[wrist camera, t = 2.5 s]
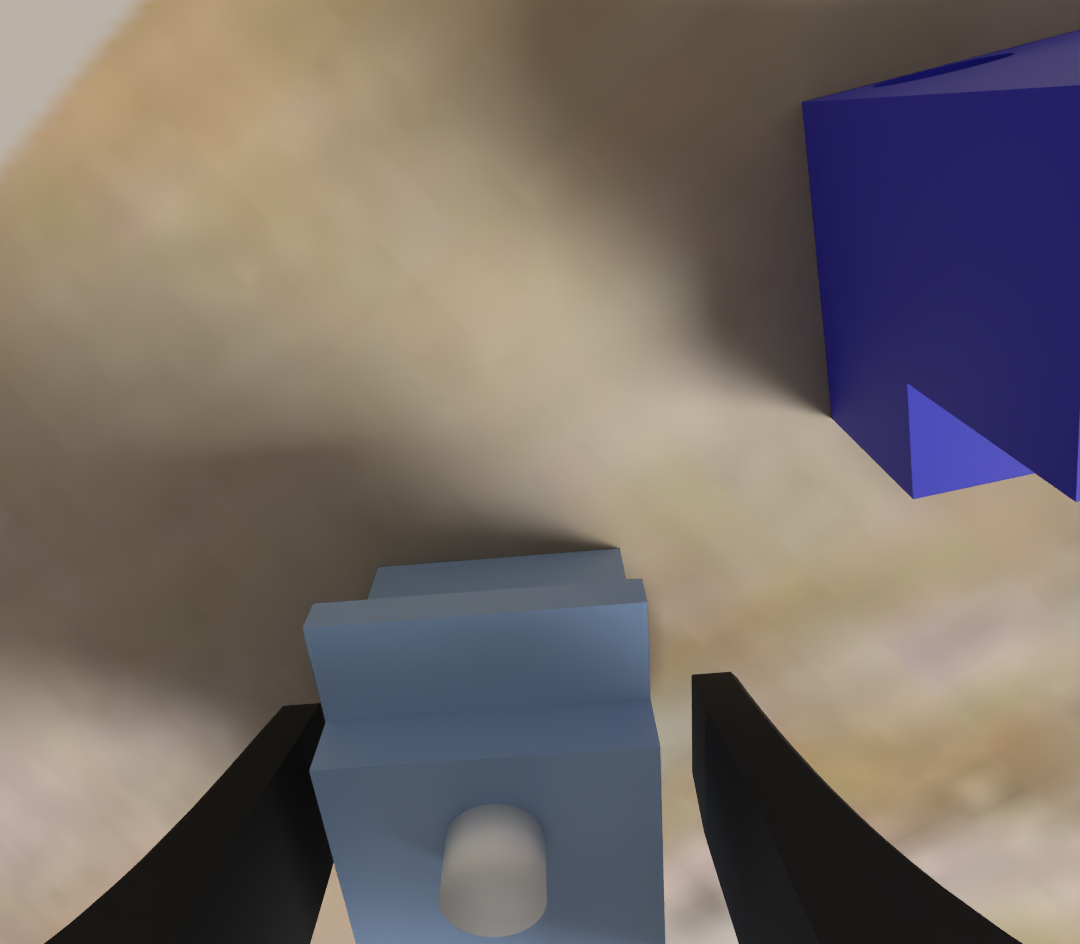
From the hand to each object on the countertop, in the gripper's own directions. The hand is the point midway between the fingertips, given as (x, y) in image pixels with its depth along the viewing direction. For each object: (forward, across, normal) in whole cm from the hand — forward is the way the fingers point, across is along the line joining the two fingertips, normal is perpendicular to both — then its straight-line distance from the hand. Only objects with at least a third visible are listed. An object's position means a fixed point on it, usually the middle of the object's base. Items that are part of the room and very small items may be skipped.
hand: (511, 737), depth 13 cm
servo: (+2, 0, 0) cm, 2 cm away
